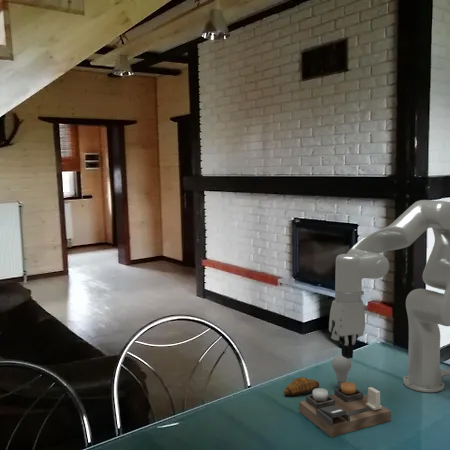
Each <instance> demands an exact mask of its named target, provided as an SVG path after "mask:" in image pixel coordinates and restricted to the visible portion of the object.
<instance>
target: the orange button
mask: <svg viewBox="0 0 450 450" xmlns="http://www.w3.org/2000/svg"><path fill="white" fill-rule="evenodd" d="M356 389H357V385H356V383H355V382H350V381H346V382H343V383H341V391H342V392H343V393H346V394H354V393H356Z"/></svg>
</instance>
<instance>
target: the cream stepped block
mask: <svg viewBox="0 0 450 450" xmlns="http://www.w3.org/2000/svg"><path fill="white" fill-rule="evenodd" d="M367 397H368V403H366V406H368V407H370V408H371V409H373V410H378V409H382V406H383V405H382V404H381V391H379V390H377V389H376V388H374V387H372V386H370V387H368V388H367ZM381 405H382V406H381Z"/></svg>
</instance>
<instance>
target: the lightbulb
mask: <svg viewBox="0 0 450 450" xmlns="http://www.w3.org/2000/svg"><path fill="white" fill-rule="evenodd" d="M331 366H332V368H333V371H334V372H335V375H336V381H337V386H338V388H341V383H343V382H347V379H348V374H349V372H350V371H351V369H352V360H351V358H350V359H347V358H345V357H343V356H342V353H341V354H337V355H335V356H334V357H333V359H332V362H331Z"/></svg>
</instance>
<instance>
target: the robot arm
mask: <svg viewBox="0 0 450 450" xmlns="http://www.w3.org/2000/svg"><path fill="white" fill-rule="evenodd" d="M430 228H431V229H432V233H433V235H434V243H433V246H432V250H431V252H430V254H429V257H428V259H427V262H426V264H425V266H424V269H423V272H422V281H423V282H424V284H425V285H426V286H428V287H430V288H434V289H437V290H442V291H444V293H441V292H439V291H435V290H430V289H426V288H416V289H413V290H411V291H410V292H409V293H408V294H407V296H406V299H405V308H406V309H405V310H406V313H407V321H408V364H407V366H408V367H407V369H408V371H407V372H408V373H407V375H405V376H403V378H402V383H403V385H404V386H405V387H407V388H409V389H410V390H413V391H417V392H420V393H437V392H441V391H443V390H444V389H445V382H444V381H443V380H442V379H443V378H444V377H448V376H450V370H449V369H443V370H441V369H440V368H441V367H440V365H441V364H440V363H441V362H440V361H441V360H440V359H441V331H440V325H441V326H444V327H450V201H445V200H433V199H432V200H431V199H420V200H417V201H415V202H414V203H412V205H409V207H408V208H407V209H406V210H405V211H403V213H401V214H400V215H399V216H398V217H397V218H396V219H394V221H393V222H392V223H390V224H389V225H388V226H385V227H383V228H380V229H378V230H376V231H374V232H372V233H370V234H368V235H366V236H364V237H362V238H361V239H360V240H358V242H356V243H355V244H354V245H353V246H352V247H351V248H350V249H349V250H348V251H347V252H346V253H340V254H338V255H337V256H336V258H335V275H334V278H335V282H334V283H335V285H334V289H335V290H334V300H332V302H331V305H330V311H329V319H328V320H329V321H328V331H329V332H330V334H331V336H330V337H331V340H334V341H338V342H339V343H340V344H341V354H342V356H343V357H345V358H347V359H350V360H351V359H353V357H354V345H356V341H357V339H358V338H361V337H363V336H364V332H365V329H366V312H365V305H364V301H363V300H362V296H364V294H365V292H364V290H362V288H363V287H362V286H363V282H362V281H363V279H371V280H373V279H375V280H376V279H380V278H383V277H384V276H386V275H387V274H388V272H389V270H390V263H389V260H388V258H387V257H385V255H382V253H384V252H390V251H395V250H401V249H405V248H408V247H410V246H411V245H412V244H413V243H414V242H415V241H416V240H417V239H418V238H419V237H420V236H421V235H423V233H425V232H426V231H427V230H428V229H430Z"/></svg>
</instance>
